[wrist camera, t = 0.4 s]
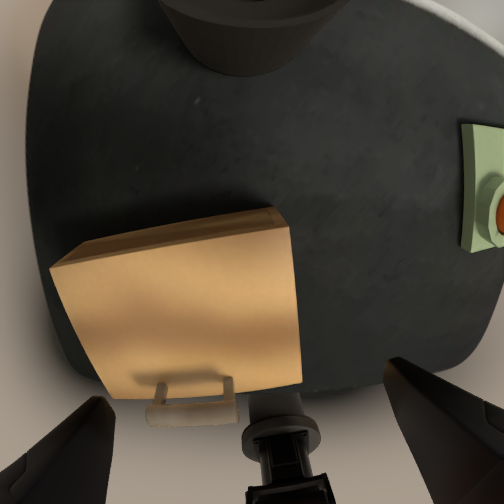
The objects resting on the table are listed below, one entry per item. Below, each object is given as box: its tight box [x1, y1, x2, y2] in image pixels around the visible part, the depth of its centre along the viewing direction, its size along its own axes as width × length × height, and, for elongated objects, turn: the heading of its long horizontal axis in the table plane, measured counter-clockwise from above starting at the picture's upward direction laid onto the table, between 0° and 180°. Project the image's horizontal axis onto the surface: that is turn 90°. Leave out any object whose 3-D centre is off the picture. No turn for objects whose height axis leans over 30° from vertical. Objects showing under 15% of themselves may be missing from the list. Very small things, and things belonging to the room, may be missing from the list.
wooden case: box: [56, 207, 286, 264], centre depth 20 cm, size 11×15×5 cm
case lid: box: [49, 223, 302, 427], centre depth 16 cm, size 12×15×5 cm
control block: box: [461, 124, 504, 253], centre depth 19 cm, size 12×9×4 cm
